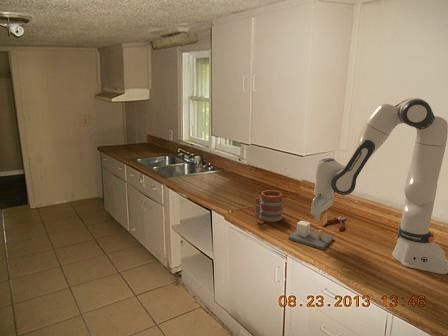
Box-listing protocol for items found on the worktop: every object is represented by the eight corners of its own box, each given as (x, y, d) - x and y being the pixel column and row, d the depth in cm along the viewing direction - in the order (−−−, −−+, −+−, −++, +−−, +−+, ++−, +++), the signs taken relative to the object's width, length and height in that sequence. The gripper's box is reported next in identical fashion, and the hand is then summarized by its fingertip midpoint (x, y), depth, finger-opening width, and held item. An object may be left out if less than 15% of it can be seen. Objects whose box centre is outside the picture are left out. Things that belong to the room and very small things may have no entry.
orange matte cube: (326, 222, 165) (328, 211, 163) (323, 225, 161) (324, 214, 159) (317, 219, 168) (318, 208, 166) (313, 222, 164) (314, 211, 162)
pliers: (353, 221, 194) (353, 216, 193) (341, 232, 178) (341, 228, 178) (333, 216, 201) (334, 212, 200) (320, 227, 185) (321, 222, 184)
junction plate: (333, 239, 169) (334, 225, 168) (322, 249, 159) (324, 235, 157) (300, 229, 180) (301, 216, 178) (288, 239, 169) (289, 225, 167)
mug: (287, 218, 195) (289, 193, 192) (263, 226, 184) (265, 200, 180) (270, 211, 206) (271, 187, 202) (247, 218, 195) (247, 193, 191)
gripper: (321, 198, 150) (318, 227, 154) (337, 188, 166) (334, 214, 170) (308, 195, 154) (305, 223, 157) (325, 185, 170) (322, 210, 173)
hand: (320, 218), depth 164 cm, fingers closed on orange matte cube, 5 cm apart
